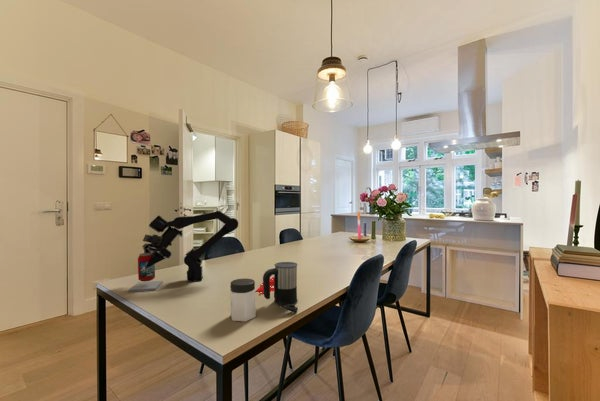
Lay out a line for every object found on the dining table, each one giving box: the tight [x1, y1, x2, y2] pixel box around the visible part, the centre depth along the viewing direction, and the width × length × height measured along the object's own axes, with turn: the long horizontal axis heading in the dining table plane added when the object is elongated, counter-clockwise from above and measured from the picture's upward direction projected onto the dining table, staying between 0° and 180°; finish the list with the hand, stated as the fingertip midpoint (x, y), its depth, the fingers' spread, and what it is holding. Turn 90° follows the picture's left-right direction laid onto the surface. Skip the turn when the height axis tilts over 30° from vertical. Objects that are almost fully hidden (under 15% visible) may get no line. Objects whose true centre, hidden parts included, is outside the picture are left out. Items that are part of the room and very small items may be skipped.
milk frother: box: [262, 261, 299, 313], centre depth 107 cm, size 14×16×15 cm
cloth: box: [255, 276, 274, 296], centre depth 130 cm, size 26×14×2 cm, turn 160°
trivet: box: [128, 280, 164, 293], centre depth 130 cm, size 11×11×1 cm
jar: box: [230, 278, 256, 322], centre depth 97 cm, size 9×8×12 cm
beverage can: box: [137, 253, 156, 282], centre depth 129 cm, size 7×7×12 cm
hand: (143, 265), depth 128 cm, fingers closed on beverage can, 7 cm apart
